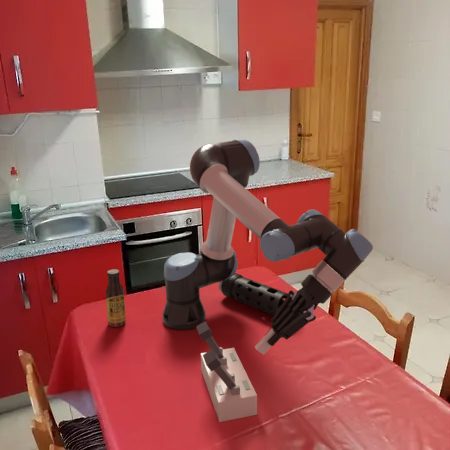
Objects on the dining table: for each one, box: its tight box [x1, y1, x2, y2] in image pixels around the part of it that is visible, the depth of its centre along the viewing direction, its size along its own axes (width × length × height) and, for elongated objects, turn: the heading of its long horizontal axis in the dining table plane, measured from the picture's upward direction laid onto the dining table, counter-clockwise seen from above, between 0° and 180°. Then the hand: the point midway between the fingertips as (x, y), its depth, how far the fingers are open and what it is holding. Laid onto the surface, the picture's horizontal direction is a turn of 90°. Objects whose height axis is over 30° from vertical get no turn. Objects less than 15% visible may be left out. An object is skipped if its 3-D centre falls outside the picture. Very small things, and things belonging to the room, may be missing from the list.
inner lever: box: [196, 320, 224, 358], centre depth 133 cm, size 3×4×11 cm
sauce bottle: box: [105, 268, 127, 328], centre depth 164 cm, size 7×6×20 cm
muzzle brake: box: [218, 272, 289, 316], centre depth 174 cm, size 10×28×10 cm, turn 46°
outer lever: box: [203, 348, 236, 390], centre depth 121 cm, size 3×4×11 cm
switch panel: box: [200, 346, 258, 423], centre depth 130 cm, size 10×22×8 cm, turn 15°
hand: (259, 350), depth 122 cm, fingers closed
